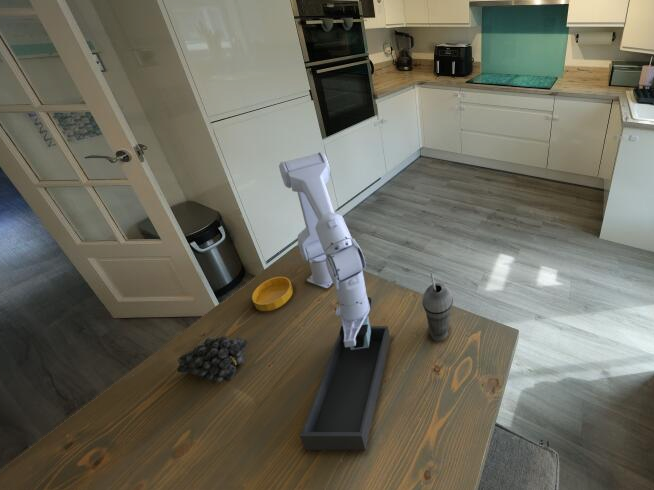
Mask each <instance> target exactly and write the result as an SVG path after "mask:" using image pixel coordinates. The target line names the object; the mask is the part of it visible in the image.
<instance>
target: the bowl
mask: <svg viewBox="0 0 654 490" xmlns="http://www.w3.org/2000/svg"><path fill="white" fill-rule="evenodd" d="M293 287H294V286H293V284H292V282H291V280H290V279H289V278H288V277H285V276H275V277H272V278H271V277H270V278H269V279H267V280H265V281H263V282H261V283H260V284H259V285H258V286H257V287H256V288H255V289H254V291H253V292H252V296H251V300H252V302H253V305H254V307H255V309H256V310H258V311H260V312H269V311H274V310H276V309H279V308H281V307H282V306H283V305H285V304H286V303H287V302H288V301H289V300H290V299H291V297H292V295H293V291H294V288H293Z"/></svg>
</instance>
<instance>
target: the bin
mask: <svg viewBox="0 0 654 490" xmlns="http://www.w3.org/2000/svg"><path fill="white" fill-rule="evenodd" d="M370 328H371V335H370V342H369V348H361V349H354V350H351V349H350V347H345V345H344V339H342V338H341V337H340V331H339V333H338V335H337V338H336V340H335V343H334V345H333V348H332V351H331V353H330V356H329V357H328V358H329V359H328V361H327V364H326V366H325V368H324V372H323V375H322V376H321V379H320V381H319V384H318V387H317V390H316V393H315V395H314V397H313V401H312V403H311V405H310V408H309V411H308V414H307V416H306V419H305V421H304V424H303V426H302V429H301V432H300V435H299V437H300V440H301V442H302V445H303V448H304V450H305V451H366V449H367V444H368V439H369V436H370V431H371V426H372V423H373V418H374V415H375V414H374V413H375V409H376V404H377V400H378V395H379V390H380V387H381V382H382V377H383V373H384V369H385V364H386V359H387V355H388V350H389V346H390V341H391V338H390V337H391V336H390V329H389V326H388V325H370Z"/></svg>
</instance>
